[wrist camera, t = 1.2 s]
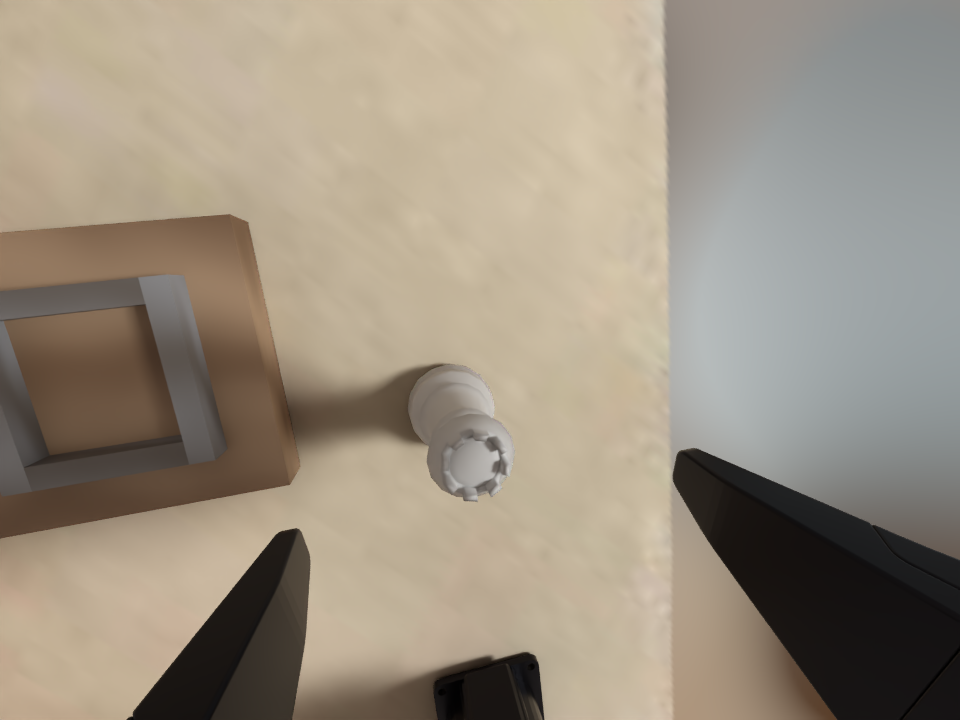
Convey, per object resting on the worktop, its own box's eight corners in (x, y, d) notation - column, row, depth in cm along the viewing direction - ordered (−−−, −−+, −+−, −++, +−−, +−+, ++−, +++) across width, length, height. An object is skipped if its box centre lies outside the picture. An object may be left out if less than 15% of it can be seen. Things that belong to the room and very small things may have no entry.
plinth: (300, 466, 21) (282, 497, 18) (29, 514, 19) (-45, 559, 16) (247, 222, 18) (216, 208, 15) (-69, 248, 16) (-179, 239, 13)
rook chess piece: (503, 419, 22) (556, 489, 15) (430, 457, 22) (445, 549, 14) (469, 348, 21) (508, 382, 14) (392, 385, 21) (386, 443, 13)
